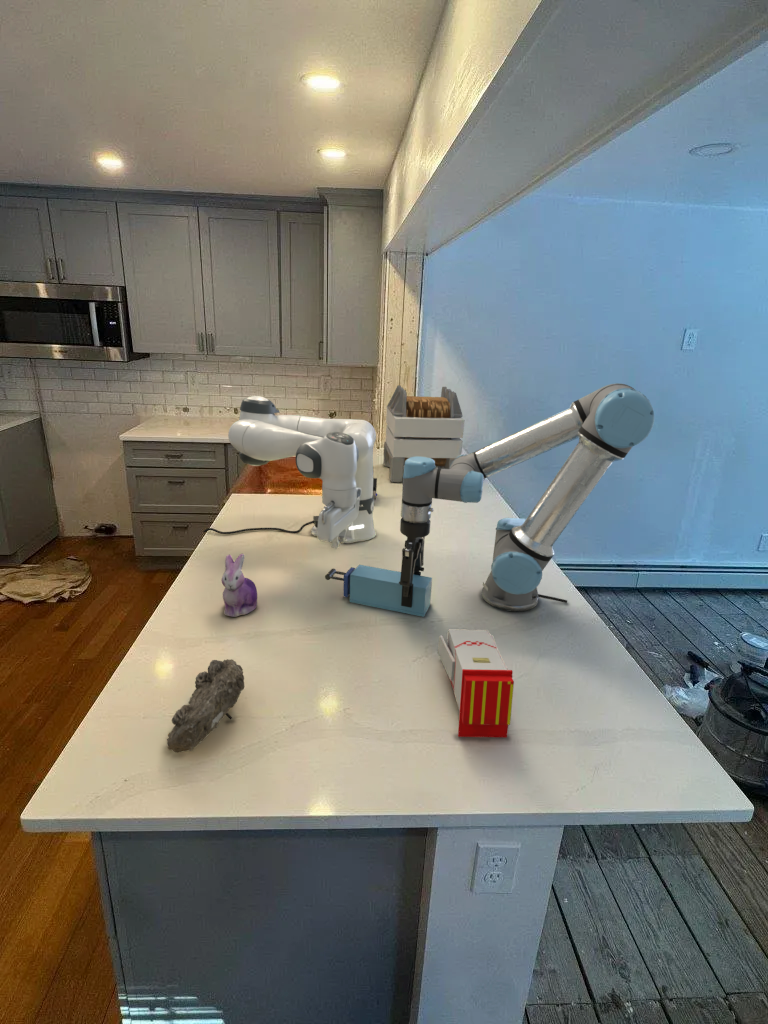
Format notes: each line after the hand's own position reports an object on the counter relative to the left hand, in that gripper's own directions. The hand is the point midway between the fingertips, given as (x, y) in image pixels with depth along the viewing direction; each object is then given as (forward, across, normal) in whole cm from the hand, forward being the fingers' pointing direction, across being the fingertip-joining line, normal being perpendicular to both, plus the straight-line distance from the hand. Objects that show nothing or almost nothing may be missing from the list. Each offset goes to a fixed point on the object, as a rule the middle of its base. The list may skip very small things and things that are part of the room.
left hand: (338, 545), depth 152 cm
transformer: (+15, +128, +10) cm, 129 cm away
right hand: (+12, 0, -21) cm, 24 cm away
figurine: (+14, -18, +20) cm, 30 cm away
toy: (+14, -30, -42) cm, 53 cm away
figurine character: (+15, +80, +20) cm, 84 cm away
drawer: (+14, 0, -10) cm, 17 cm away
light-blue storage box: (+14, 0, -15) cm, 21 cm away
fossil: (+14, -55, +3) cm, 57 cm away
